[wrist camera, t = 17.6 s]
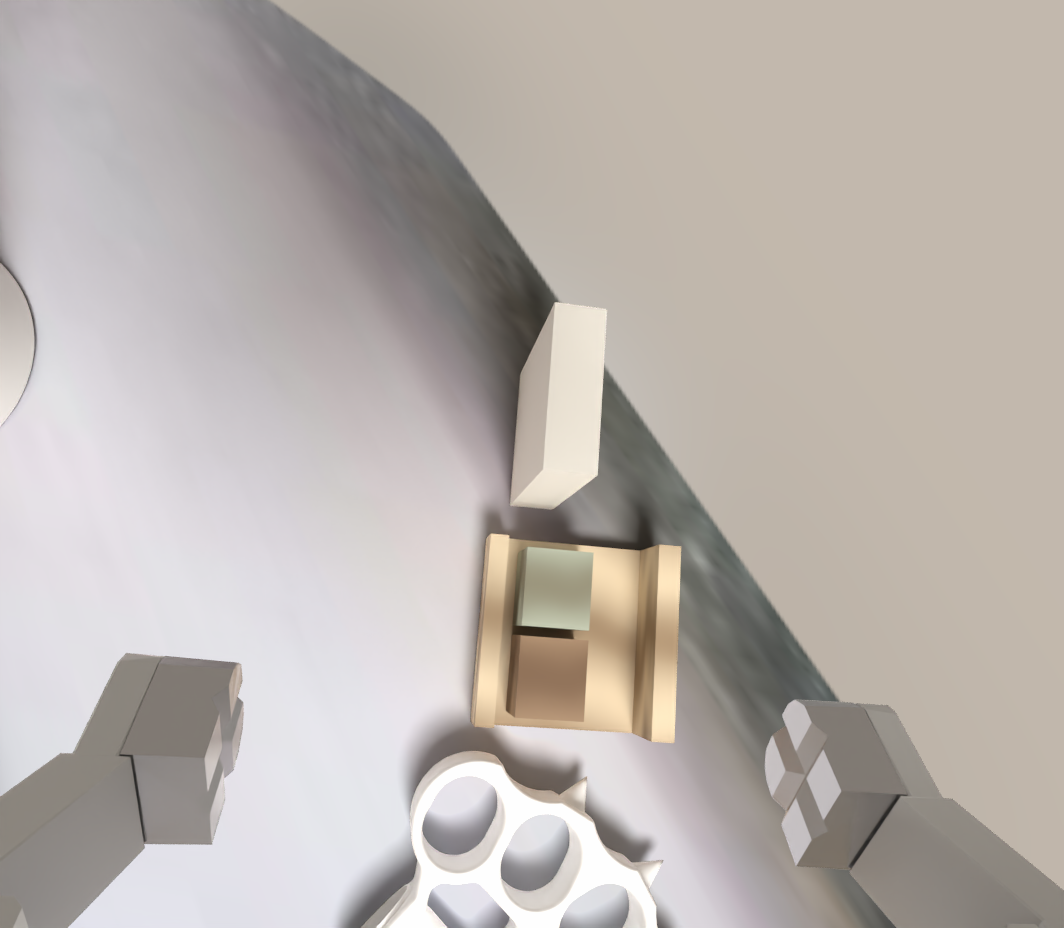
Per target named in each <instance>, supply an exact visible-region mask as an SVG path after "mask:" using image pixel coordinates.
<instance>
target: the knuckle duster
mask: <svg viewBox="0 0 1064 928" xmlns="http://www.w3.org/2000/svg"><path fill="white" fill-rule="evenodd" d="M462 776H475V777H479V778H482V779H484V780H486V781H488V782H489V783H490V784H491V785H493V786H494V788H495V790H496V794H497V811H496V815H495V817H494V820H493V822H492V823H491V825H490V827H489V829H488V831H487V833H486V835H485V837H484V838H483V840H482V841H481V842H480V843H479V844H478V845H477V846H476V847H475V848H473V849H472V850H470V851H468V852H466V853H463V854H458V855H449V854H444V853H441V852H439V851H437V850H436V849H434V848H433V847H432V846H431V845H430V844H429V843H428V842H427V840H426V838H425V837H424V834H423V832H422V826H423V821H424V818H425V815H426V813H427V811H428V809H429V807H430V805H431V804H432V802H433V800H434V798H435V796H436V795H437V793H438V792H439V790H440V789H441V788H442V787H443V786H444V785H445V784H447V783H448V782H450V781H451V780H453V779H456V778H458V777H462ZM586 784H587V777H585V778H584V779H582V780H581V781H579V782H578V783H576V784H575V785H573V786H572V787H570V788H569V789H567V790H566V791H564V792H563V793H561V794H560V795H559V794H557V793H556V792H554V791H552V790H535V789H531V788H528V787H525V786H523V785H521V784H519V783H518V782H516V781H515V780H513V779H512V778H511V777H510V776H509V775H508V774H507V772H506V770H505V768H504V766H503V764H502V763H501V762H500V760H499V759H498V758H497V756H495V755H493V754H490V753H487V752H482V751H464V752H459V753H455V754H452V755H450V756H448V757H446V758H444V759H442V760H441V761H439V762H438V763H436V764H435V765H434V766H433V767H432V768H431V769H430V770H429V771H428V772H427V773H426V774H425V775H424V777H423V778H422V780H421V781H420V783H419V785H418V786H417V788H416V791H415V793H414V796H413V799H412V803H411V809H410V828H411V840H412V845H413V849H414V853H415V855H416V858H417V860H418V861H417V865H416V870H415V875H414V878H413V879H412V881H411V882H410V883H409V884H406V885H404V886H403V887H402V888H400V889H399V890H398V891H397V892H395V893H394V894H393V895H392V896H391V897H390V898H389V899H388V900H387V901H386V902H384V904H383V905H382V906H381V907H380V908H379V909H378V910H377V911H376V912H375V913H374V914H373V915H372V916H371V917H370V918H369V919H368V920H367V921H366V922H365V923H364V924H363V926H362V927H361V928H448V927H447V926H446V925H445V924H444V923H443V922H442V921H441V920H440V918H439V917H438V916H437V915H436V914H435V913H434V912H433V911H432V910H431V908H430V907H429V906H428V905H427V902H428V897H429V894H430V892H431V890H432V889H433V888H434V887H435V886H436V885H438V884H441V883H447V884H466V883H470V882H475V883H478V884H480V885H481V886H482V887H483V888H484V889H485V890H486V891H487V892H488V893H489V895H490V896H491V897H492V898H493V899H494V900H495V901H496V902H497V903H498V905H499V906H500V907H501V908H502V909H503V910H504V911H505V912H506V913H507V915H508V916H509V917H510V919H509V922H508V924H507V926H506V927H505V928H559V926H560V922H561V919H562V916H563V914H564V912H565V910H566V909H567V907H568V906H569V905H570V904H571V903H572V902H573V901H574V900H575V899H576V898H578V897H579V896H581V895H582V894H584V893H586V892H587V891H589V890H590V889H592V888H594V887H596V886H598V885H602V884H608V883H611V884H618V885H621V886H623V887H625V888H626V891H627V894H628V898H629V912H628V916H627V919H626V922H625V924H624V926H623V928H658V927H657V920H656V903H655V901H654V899H653V897H652V895H651V893H650V891H649V888H650V886H651V884H652V882H653V880H654V878H655V876H656V874H657V872H658V870H659V868H660V866H661V864H662V862H663V860H657V861H645V862H633V863H631V862H630V861H629V860H628V859H627V858H626V857H625V856H624V855H623V854H621V853H618V852H615V851H613V850H611V849H609V848H607V847H606V846H604V844H603V843H602V841H601V839H600V837H599V835H598V833H597V830H596V827H595V823H594V820H593V819H592V818H591V817H590V816H589V815H588V814H587V813H585V800H586ZM540 814H552V815H556V816H559V817H561V818H562V819H564V820H565V822H566V824H567V827H568V830H569V847H568V851H567V854H566V856H565V858H564V860H563V862H562V864H561V866H560V868H559V870H558V872H557V874H556V875H555V877H554V878H553V879H552V880H551V881H550V882H549V883H548V884H547V885H545V886H544V887H542V888H540V889H537V890H533V891H521V890H517V889H515V888H513V887H511V886H509V885H508V884H507V883H506V882H505V881H504V880H503V879H502V878H501V861H502V857H503V854H504V852H505V850H506V848H507V846H508V844H509V842H510V840H511V838H512V836H513V834H514V832H515V831H516V829H517V828H518V827H519V826H520V825H521V824H522V823H523V822H524V821H526V820H527V819H529V818H531V817H533V816H536V815H540Z"/></svg>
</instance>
